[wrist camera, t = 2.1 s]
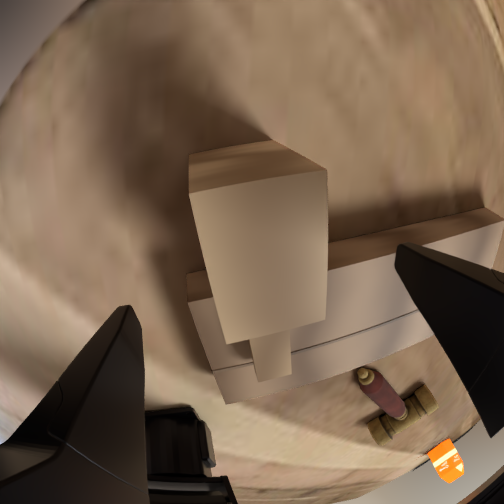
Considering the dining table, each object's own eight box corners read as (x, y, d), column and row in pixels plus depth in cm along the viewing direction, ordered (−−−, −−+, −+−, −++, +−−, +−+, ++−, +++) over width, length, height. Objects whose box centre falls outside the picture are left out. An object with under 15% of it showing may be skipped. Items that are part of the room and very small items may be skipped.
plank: (221, 378, 21) (226, 404, 19) (186, 273, 16) (187, 303, 14) (459, 298, 24) (474, 313, 21) (485, 207, 18) (506, 220, 16)
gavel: (323, 417, 23) (416, 355, 21) (309, 382, 27) (392, 323, 25) (383, 448, 32) (440, 410, 30) (372, 425, 36) (426, 389, 34)
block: (230, 337, 19) (247, 413, 14) (188, 154, 13) (188, 193, 8) (288, 323, 19) (318, 394, 14) (272, 140, 13) (327, 169, 8)
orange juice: (449, 438, 81) (468, 470, 64) (435, 449, 85) (452, 480, 68) (441, 442, 79) (460, 476, 62) (426, 453, 82) (444, 486, 65)
